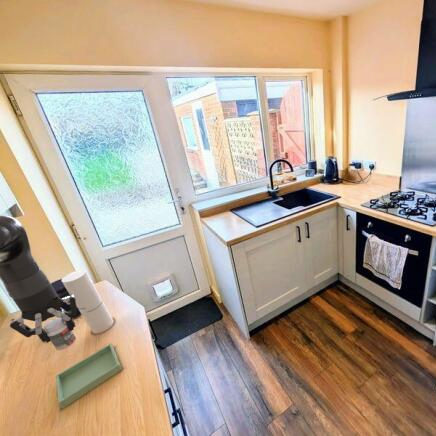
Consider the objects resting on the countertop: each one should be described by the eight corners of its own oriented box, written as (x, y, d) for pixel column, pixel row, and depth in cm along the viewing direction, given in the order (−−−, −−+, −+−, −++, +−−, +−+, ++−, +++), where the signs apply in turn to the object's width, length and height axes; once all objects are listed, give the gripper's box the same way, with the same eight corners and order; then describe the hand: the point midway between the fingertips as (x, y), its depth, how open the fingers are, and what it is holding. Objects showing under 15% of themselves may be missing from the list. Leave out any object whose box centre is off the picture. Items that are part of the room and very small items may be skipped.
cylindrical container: (99, 320, 101) (70, 271, 91) (117, 317, 102) (90, 268, 92) (88, 335, 95) (56, 283, 85) (107, 332, 95) (77, 280, 85)
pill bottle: (73, 346, 72) (59, 325, 69) (53, 353, 71) (39, 332, 68) (78, 334, 76) (66, 314, 73) (60, 340, 75) (47, 320, 72)
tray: (62, 408, 70) (58, 403, 69) (59, 380, 79) (55, 375, 78) (122, 369, 80) (119, 364, 79) (113, 348, 88) (110, 343, 87)
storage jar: (87, 300, 114) (72, 274, 108) (90, 310, 108) (74, 283, 101) (60, 312, 109) (43, 285, 102) (61, 324, 102) (42, 296, 96)
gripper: (64, 270, 72) (88, 314, 79) (-7, 296, 64) (27, 343, 70) (66, 280, 67) (92, 326, 74) (-11, 310, 58) (27, 359, 65)
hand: (60, 334), depth 72 cm, fingers closed on pill bottle, 4 cm apart
